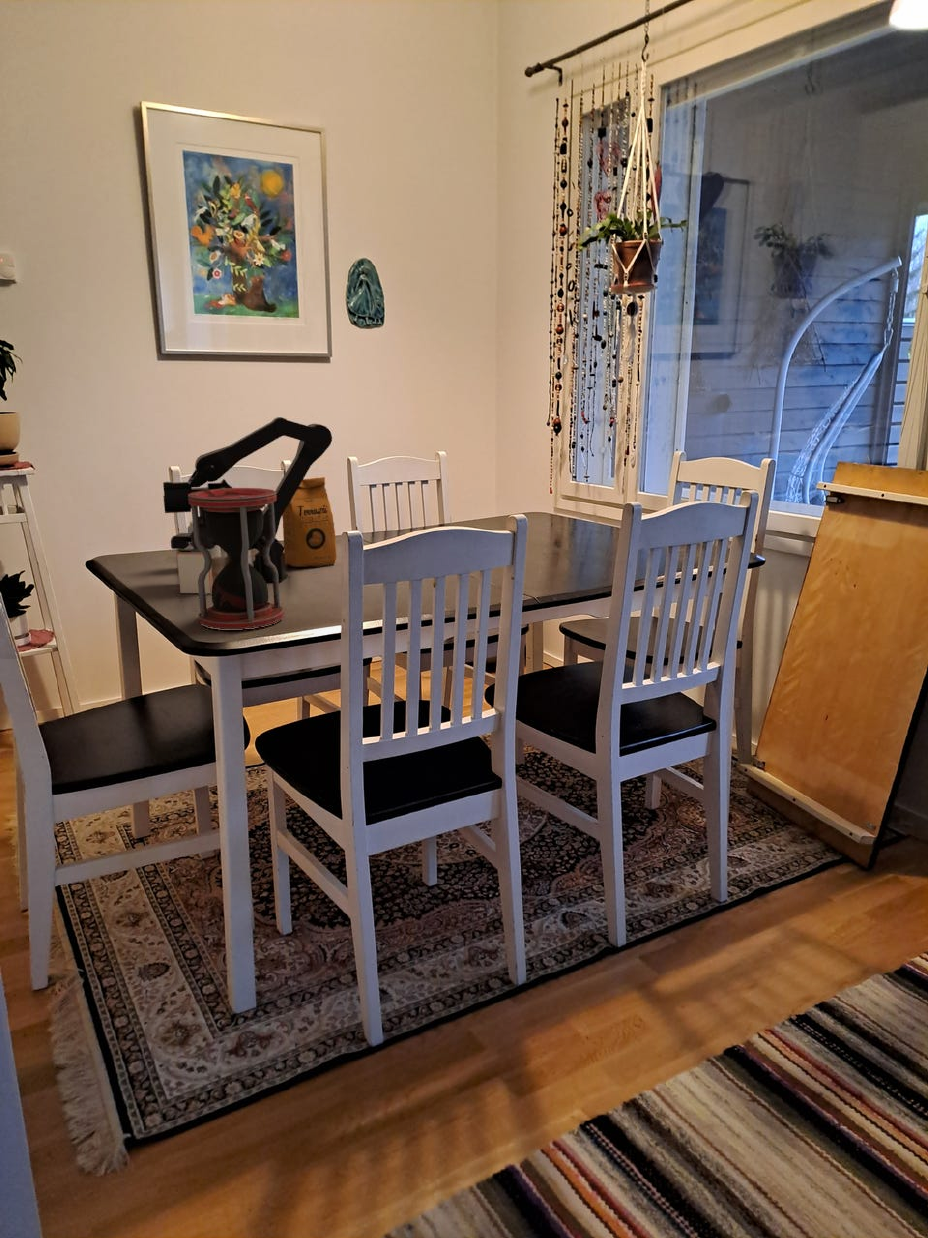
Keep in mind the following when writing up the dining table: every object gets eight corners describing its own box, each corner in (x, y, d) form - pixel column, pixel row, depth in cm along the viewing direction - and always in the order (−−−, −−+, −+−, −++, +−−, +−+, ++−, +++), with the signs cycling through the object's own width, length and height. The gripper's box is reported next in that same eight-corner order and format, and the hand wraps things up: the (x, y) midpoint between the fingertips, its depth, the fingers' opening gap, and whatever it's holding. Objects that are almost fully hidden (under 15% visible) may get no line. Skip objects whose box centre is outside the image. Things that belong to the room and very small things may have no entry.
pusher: (229, 582, 199) (227, 556, 198) (223, 586, 195) (221, 560, 194) (213, 581, 199) (211, 556, 198) (206, 585, 196) (204, 560, 194)
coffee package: (340, 566, 215) (336, 478, 210) (292, 571, 210) (286, 481, 204) (328, 559, 224) (324, 474, 218) (281, 563, 219) (276, 477, 213)
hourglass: (270, 605, 178) (262, 485, 171) (294, 624, 164) (286, 494, 158) (191, 615, 171) (179, 490, 164) (209, 636, 157) (197, 500, 150)
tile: (213, 592, 189) (210, 552, 187) (210, 594, 188) (207, 554, 185) (183, 591, 190) (179, 552, 187) (179, 593, 188) (176, 553, 186)
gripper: (157, 515, 186) (164, 585, 190) (240, 516, 184) (245, 587, 189) (178, 508, 197) (184, 574, 201) (257, 509, 195) (261, 576, 199)
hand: (218, 578), depth 197 cm, fingers open, 8 cm apart
